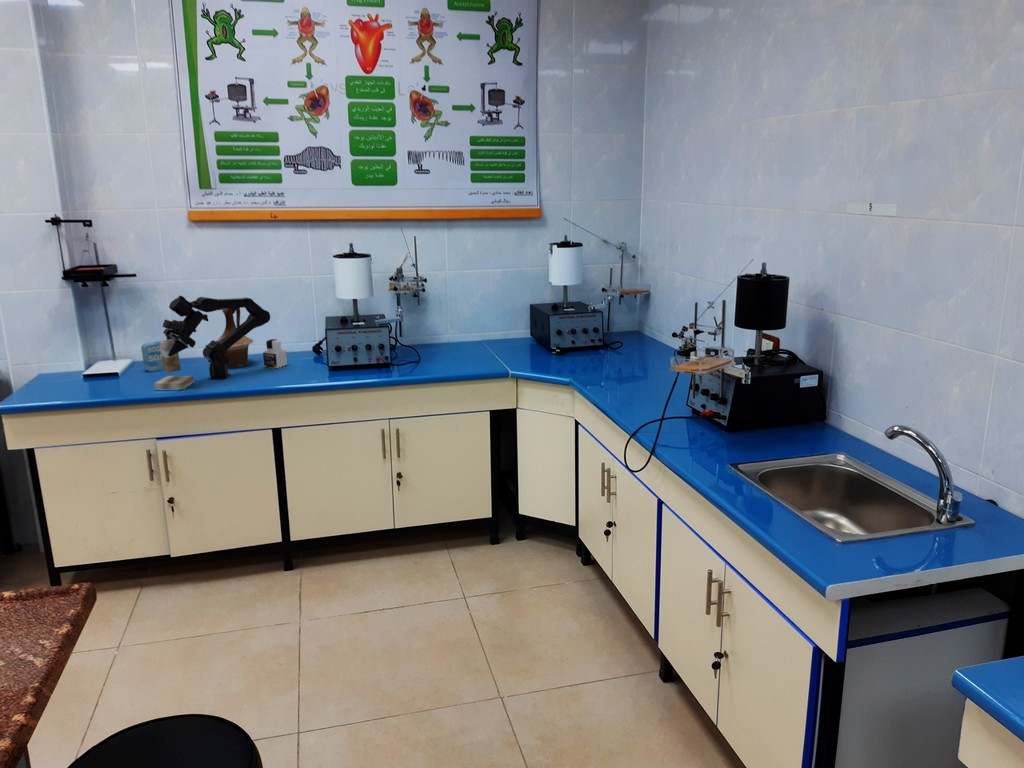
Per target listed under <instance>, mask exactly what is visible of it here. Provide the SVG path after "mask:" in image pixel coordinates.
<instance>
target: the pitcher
mask: <svg viewBox="0 0 1024 768" xmlns="http://www.w3.org/2000/svg"><path fill="white" fill-rule="evenodd" d="M218 311H222V313H223V315H224V318H225V328H224V331H223V332H222V334H221V335H220V337H219V338H218V339H217V340H216V341H217V342H218V341H220V340H222V339H223V338H224V337H226V336H227V335H228V334H229V333H231V332H232V331H233V330H235V329H236V328H237V327H238V326H240V325H241V308H225V309H219V310H218ZM234 314H235V315H236V320H235V318H234ZM235 321H236V323H235ZM253 342H254V340H253V339H252V338H250V337H248V336H247V335H245V336H244V337H242V338H241V339H240V340H239V341H237V342H236V343H235V344H234V345H232V346H231V347H230V348H229V349H228V350H227V352H226V354H225V355H224V356H226V357H227V358H228V359H229V361H228V364H227V366H228V369H231V368H232V369H234V367H236V368H241V367H246V366H247V365H248V364H249V345H250V344H252V343H253Z"/></svg>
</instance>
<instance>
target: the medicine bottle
mask: <svg viewBox="0 0 1024 768" xmlns="http://www.w3.org/2000/svg"><path fill="white" fill-rule="evenodd" d="M265 345H266V350H265V351H263V352H262V357H263V366H264V367H263V368H265V367H269V368H268V369H275V368H278V369H280V368H283V367H285V365H286V366H287V365H288V362H287V361H288V360H287V350H286V349H282V342H281V340H280V339H277V338H275V339H274V338H272V339H268V340H266V343H265ZM282 366H283V367H282ZM279 367H280V368H279Z"/></svg>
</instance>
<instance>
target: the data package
mask: <svg viewBox="0 0 1024 768" xmlns="http://www.w3.org/2000/svg"><path fill="white" fill-rule="evenodd" d="M159 341H160V340H158V341H153V342H146V343H142V345H141V348H140V349H141V355H142V361H143V363H142V364H143V368H144V369H145V371H147V372H150V373H152V372H151V371H154V372H158V371H157V370H159V371H164V370H163V364H162V358H161V351H160V344H159Z"/></svg>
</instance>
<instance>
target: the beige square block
mask: <svg viewBox="0 0 1024 768" xmlns="http://www.w3.org/2000/svg"><path fill="white" fill-rule="evenodd" d="M192 383H193V384H194V383H195V379H194V375H166V376H165V377H164V376H163V378H161V379H159V380H157V381H156V382H154V383H153V385H154V391H155V390H156V389H184V388H185V387H187V386H189V385H190V384H192ZM193 384H192V385H193ZM190 386H191V385H190ZM190 386H189V387H190ZM187 388H188V387H187ZM184 390H185V389H184Z"/></svg>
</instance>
